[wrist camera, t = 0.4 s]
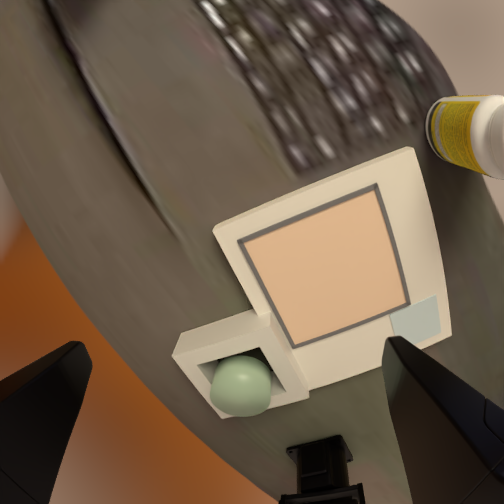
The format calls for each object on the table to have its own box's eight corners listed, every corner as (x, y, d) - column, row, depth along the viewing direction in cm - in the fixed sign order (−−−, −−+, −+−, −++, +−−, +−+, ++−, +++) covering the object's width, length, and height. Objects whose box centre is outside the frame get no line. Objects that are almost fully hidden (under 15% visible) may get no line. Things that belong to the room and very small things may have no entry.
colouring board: (446, 327, 24) (452, 336, 23) (300, 383, 27) (301, 394, 26) (406, 146, 19) (414, 148, 18) (215, 224, 22) (211, 231, 21)
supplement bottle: (440, 173, 19) (512, 207, 12) (412, 113, 18) (483, 115, 10) (486, 145, 18) (563, 167, 10) (460, 86, 17) (538, 83, 9)
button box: (307, 372, 27) (309, 397, 24) (226, 394, 28) (221, 418, 26) (271, 302, 24) (269, 325, 21) (181, 332, 26) (171, 356, 23)
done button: (280, 386, 24) (280, 409, 22) (230, 399, 25) (227, 421, 23) (257, 348, 23) (254, 371, 20) (204, 363, 24) (198, 385, 21)
